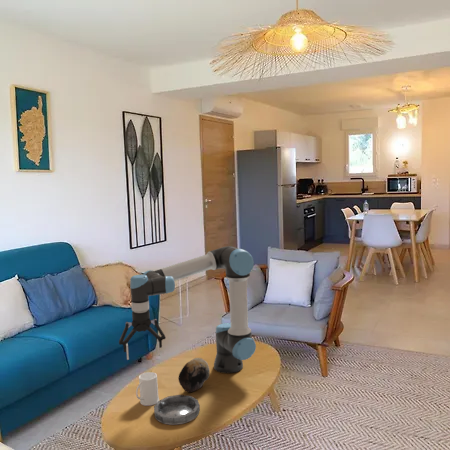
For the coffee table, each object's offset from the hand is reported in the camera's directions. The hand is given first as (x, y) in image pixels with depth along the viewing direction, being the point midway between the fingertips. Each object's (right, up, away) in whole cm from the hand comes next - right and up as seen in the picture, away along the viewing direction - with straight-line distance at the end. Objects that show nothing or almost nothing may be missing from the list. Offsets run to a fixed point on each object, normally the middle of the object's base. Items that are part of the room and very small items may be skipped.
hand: (143, 356), depth 205 cm
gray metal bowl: (+16, -22, -7) cm, 28 cm away
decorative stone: (+22, -20, +13) cm, 32 cm away
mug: (+1, -22, +3) cm, 22 cm away
